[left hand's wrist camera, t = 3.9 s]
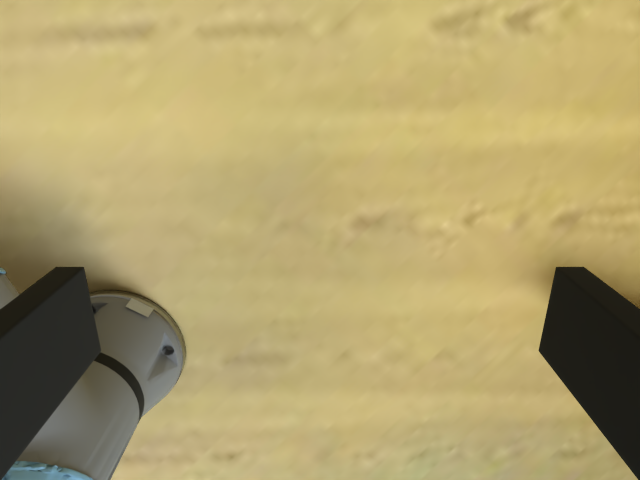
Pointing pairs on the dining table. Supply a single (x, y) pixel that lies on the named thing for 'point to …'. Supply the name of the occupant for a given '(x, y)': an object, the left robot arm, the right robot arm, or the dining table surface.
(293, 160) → the dining table surface
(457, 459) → the dining table surface
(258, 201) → the dining table surface
